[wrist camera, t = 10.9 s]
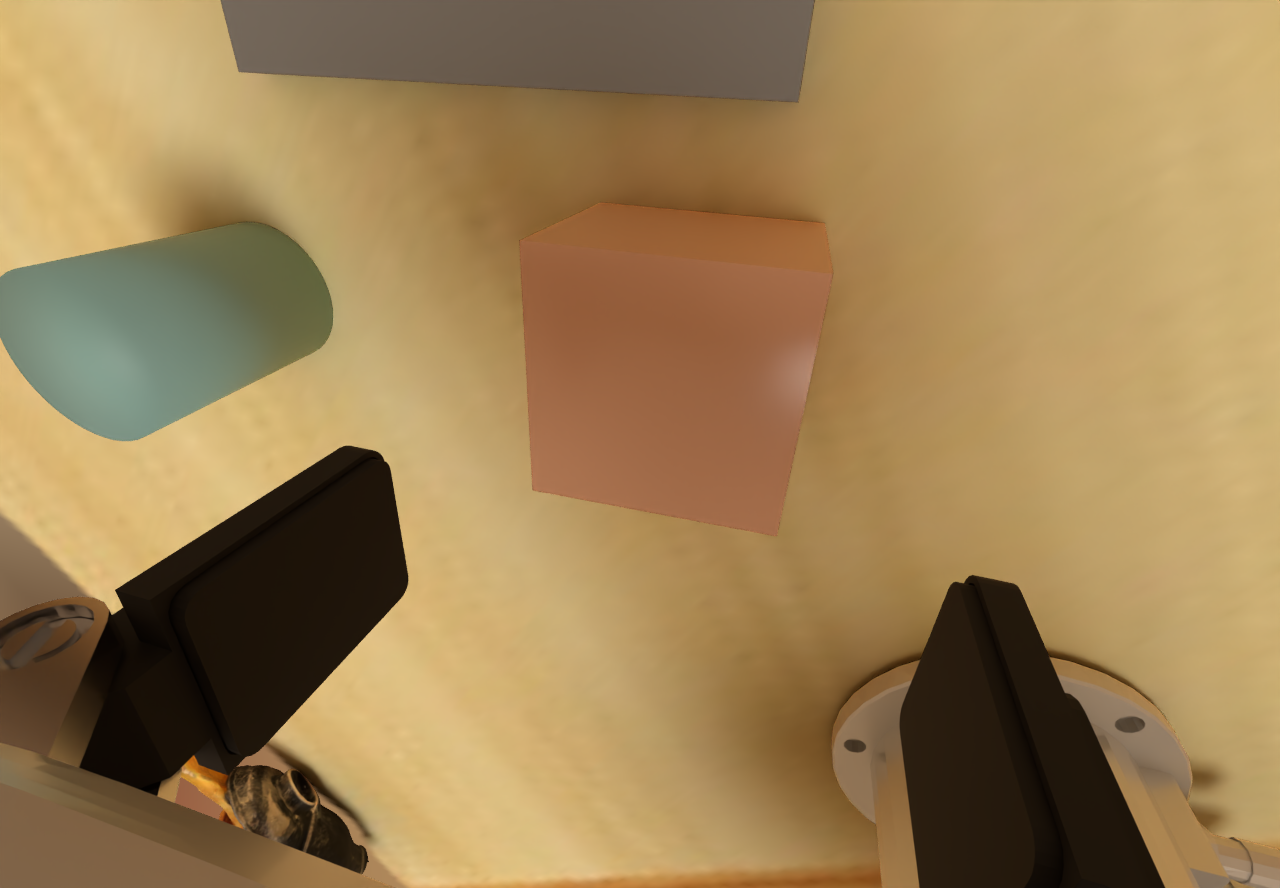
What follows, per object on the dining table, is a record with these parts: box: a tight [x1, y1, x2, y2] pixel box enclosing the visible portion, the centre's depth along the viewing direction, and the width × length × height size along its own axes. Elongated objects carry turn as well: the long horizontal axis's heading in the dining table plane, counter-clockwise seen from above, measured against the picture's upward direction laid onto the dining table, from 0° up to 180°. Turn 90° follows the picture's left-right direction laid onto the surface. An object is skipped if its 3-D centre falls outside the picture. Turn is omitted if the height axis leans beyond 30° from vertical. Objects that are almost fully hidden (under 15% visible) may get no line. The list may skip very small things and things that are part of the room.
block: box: [519, 202, 833, 536], centre depth 16 cm, size 6×6×6 cm
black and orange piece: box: [181, 756, 369, 874], centre depth 39 cm, size 9×11×18 cm
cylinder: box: [0, 222, 333, 441], centre depth 19 cm, size 5×5×7 cm
